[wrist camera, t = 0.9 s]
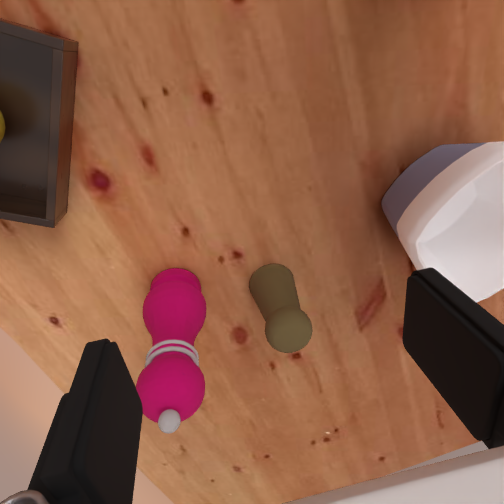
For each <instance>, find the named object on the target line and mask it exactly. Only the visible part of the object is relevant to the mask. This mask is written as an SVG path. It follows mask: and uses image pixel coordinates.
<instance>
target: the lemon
mask: <svg viewBox="0 0 504 504" xmlns="http://www.w3.org/2000/svg"><path fill="white" fill-rule="evenodd" d="M4 133H5V120H4V118H3V115H2V113H1V111H0V142H1V140H2V139H3V137H4Z"/></svg>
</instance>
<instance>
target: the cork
mask: <svg viewBox="0 0 504 504" xmlns="http://www.w3.org/2000/svg"><path fill="white" fill-rule="evenodd" d="M249 288H250V292H251V294H252V296H253V298H254V300H255V302H256V304H257V306H258V308H259V310H260V312H261V313H262V315H263V317H264V319H265V321H266V324H265V334H266V338H267V341H268V342H269V344H270V345H271V346H272V347H273V348H274V349H276V350H278V351H280V352H284V353H292V352H296V351H298V350H300V349H302V348H304V347H305V346H306V345H307V344H308V342H309V340H310V339H311V336H312V324H311V321H310V319H309V317H308V316H307V314H306V313H305V312H304V311H302V310H301V309H300V304H299V300H298V295H297V291H296V287H295V282H294V278H293V274H292V273H291V271H290V270H289V269H288V268H286V267H285V266H283V265H280V264H269V265H265V266H263V267H261V268H259V269H258V270H256V272H255V273H254V274H253V275H252V277H251V279H250V282H249Z"/></svg>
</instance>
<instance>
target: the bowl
mask: <svg viewBox="0 0 504 504" xmlns="http://www.w3.org/2000/svg"><path fill="white" fill-rule="evenodd" d="M381 205H382V209H383V212H384V214H385V215H386V217H387V219H388V221H389V223H390V225H391V226H392V228H393V230H394V231H395V233H396V235H397V236H398V238H399V240H400V242H401V243H402V245H403V247H404V249H405V251H406V252H407V254H408V256H409V257H410V259H411V261H412V262H413V264H414V266H415V268H416V269H417V270H421V269H426V268H430V267H431V268H434V269H436V270H437V271H438V272H439V273H441V274H442V275H443V276H444V277H445V278H447V279H448V280H449V281H450V282H452V283H453V284H454V285H455V286H456V287H458V288H459V289H460V290H461V291H463V292H464V293H465V294H466V295H468V296H469V297H470V298H471V299H472V300H474V301H475V302H476V303H477V302H479V301H481V300H483V299H486V298H488V297H490V296H491V295H493V294H495V293H496V292H498V291H500V290H501V289H503V288H504V142H489V143H470V144H447V145H440V146H438V147H436V148H434V149H432V150H431V151H429V152H428V153H426V154H425V155H423V156H422V157H420V158H419V159H417V160H416V161H415V162H414V163H412V164H411V165H410V166H409V167H408V168H407V169H406V170H405V171H404V172H403V173H402V174H401V175H400V176H399V177H398V178H397V179H396V180H395V182H394V183H393V184H392V186H391V187H390V188H389V189H388V191H387V192H386V194H385V195H384V197H383V199H382V202H381Z"/></svg>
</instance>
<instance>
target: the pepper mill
mask: <svg viewBox="0 0 504 504" xmlns="http://www.w3.org/2000/svg"><path fill="white" fill-rule="evenodd" d="M205 317H206V302H205V299H204V296H203V295H202V293H201V285H200V282H199V280H198V278H197V277H196V276H195V275H194V274H193V273H191V272H189V271H187V270H185V269H179V268H172V269H167V270H165V271H162V272H161V273H159V274H158V275H157V276H156V277H155V278H154V280H153V281H152V284H151V288H150V292H149V293H148V295H147V296H146V298H145V301H144V304H143V319H144V322H145V325H146V328H147V329H148V331H149V333H150V334H151V336H152V340H153V347H152V348H151V349H150V350H149V351H148V353H147V356H146V363H145V368H144V369H143V371H142V372H141V374H140V375H139V377H138V381H137V384H136V390H137V392H138V394H139V397H140V399H141V402H142V407H143V414H144V415H145V416H146V417H147V418H149V419H150V420H152V421H154V422H157V423H158V426H159V428H160V430H161V431H162V432H164V433H172V432H174V431H176V430H177V429H178V427H179V425H180V422H181V421H184V420H186V419H187V418H189V417H190V416H192V415H193V414H194V413H195V412H196V411H197V410H198V408H199V407H200V405H201V403H202V401H203V398H204V393H205V380H204V375H203V373H202V372H201V370H200V368H199V362H198V360H199V356H198V353H197V351H196V349H195V348H194V347H193V346H194V341H195V338H196V336H197V334H198V333H199V331H200V330H201V328H202V326H203V323H204V320H205Z"/></svg>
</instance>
